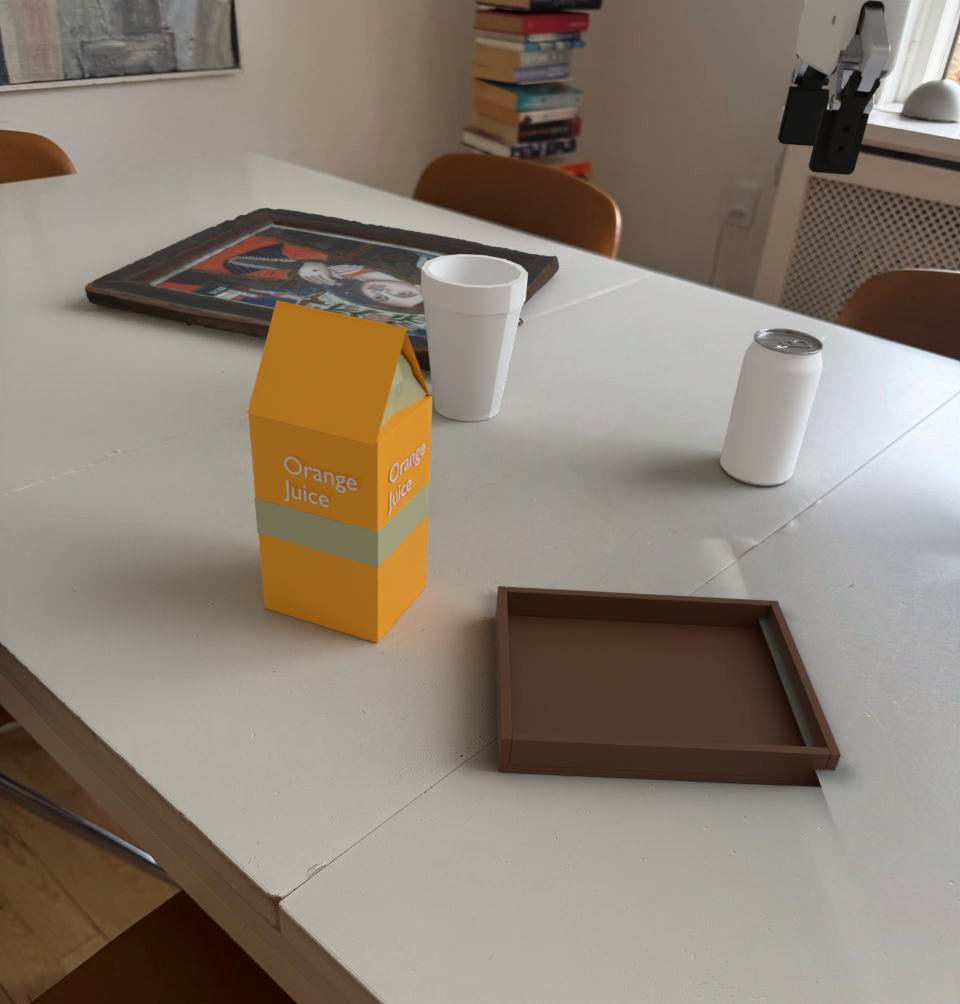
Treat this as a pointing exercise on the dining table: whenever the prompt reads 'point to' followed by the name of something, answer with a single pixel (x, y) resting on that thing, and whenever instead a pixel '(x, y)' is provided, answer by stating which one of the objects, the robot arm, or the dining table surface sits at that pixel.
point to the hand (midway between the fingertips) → (812, 157)
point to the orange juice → (340, 470)
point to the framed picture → (295, 273)
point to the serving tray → (652, 689)
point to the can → (772, 406)
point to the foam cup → (471, 330)
